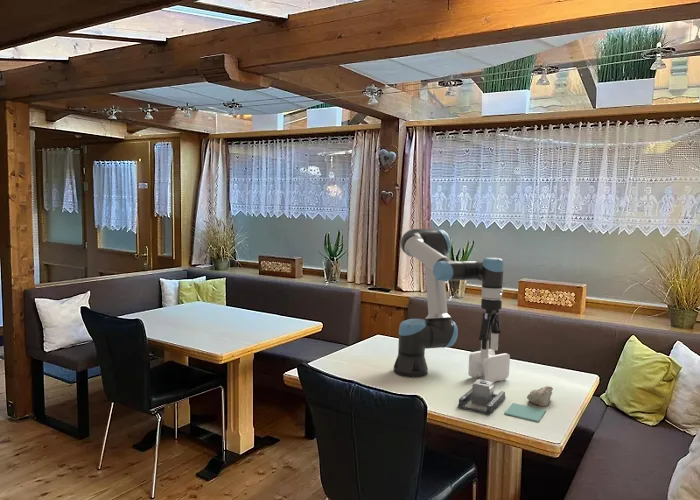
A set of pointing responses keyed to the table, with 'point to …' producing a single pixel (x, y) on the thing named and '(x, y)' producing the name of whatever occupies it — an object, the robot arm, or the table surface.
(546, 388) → the stone
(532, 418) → the pad
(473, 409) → the dark grey open frame
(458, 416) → the table surface
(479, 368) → the cable organizer
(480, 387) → the grey cube with hole
